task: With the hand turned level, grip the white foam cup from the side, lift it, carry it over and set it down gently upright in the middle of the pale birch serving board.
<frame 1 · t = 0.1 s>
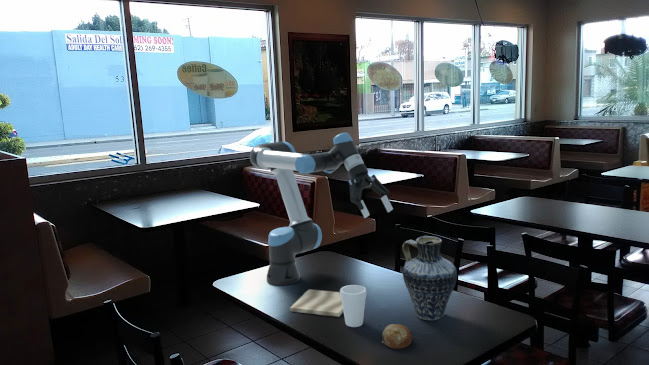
hand: (379, 213, 209), 36 cm above the table, tool tilted 35°, fingers open, 13 cm apart
foam cup: (354, 323, 194), on the table
serving board: (323, 304, 212), on the table
jug: (428, 316, 198), on the table
bread roll: (397, 342, 179), on the table
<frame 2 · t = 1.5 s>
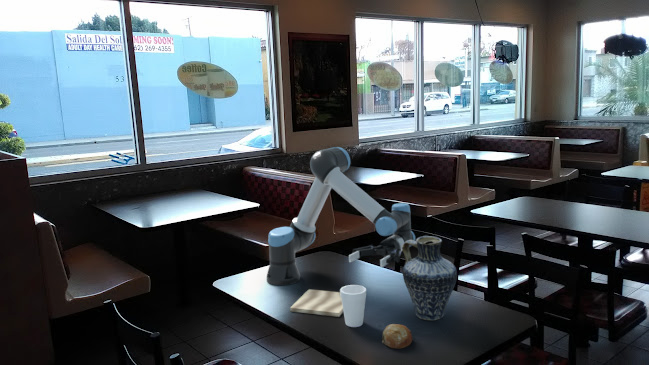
hand: (364, 261, 198), 21 cm above the table, tool horizontal, fingers open, 13 cm apart
nothing on the table moved.
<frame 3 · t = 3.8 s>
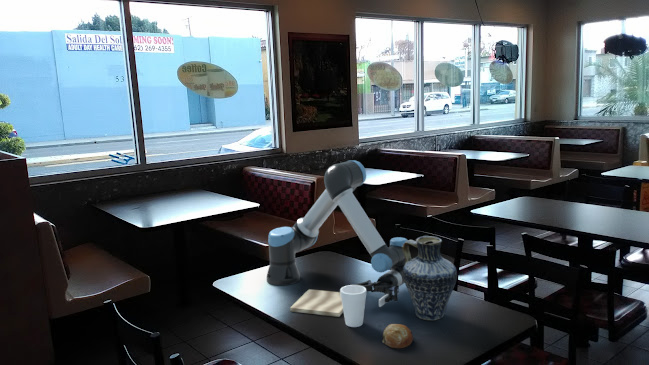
hand: (363, 299, 197), 7 cm above the table, tool horizontal, fingers open, 13 cm apart
nothing on the table moved.
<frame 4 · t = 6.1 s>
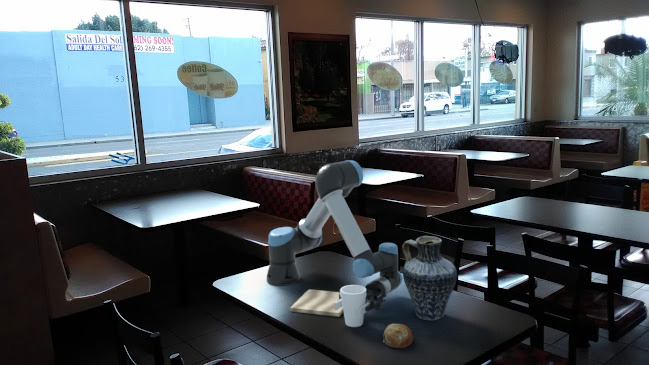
hand: (347, 309, 189), 7 cm above the table, tool horizontal, fingers closed on foam cup, 9 cm apart
foam cup: (354, 323, 194), on the table, touching gripper
everything else where it was.
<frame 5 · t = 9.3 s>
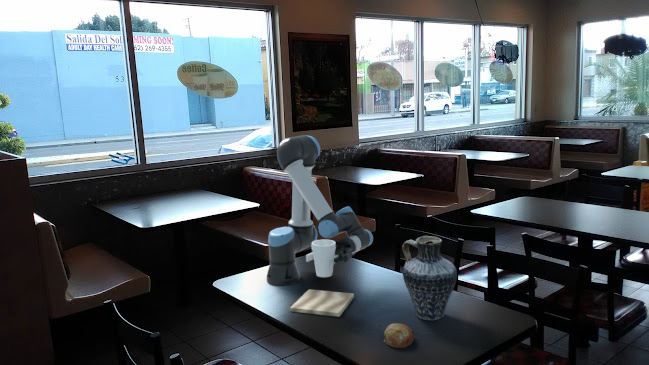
hand: (317, 260, 204), 20 cm above the table, tool horizontal, fingers closed on foam cup, 9 cm apart
foam cup: (324, 275, 209), point 13 cm above the table, touching gripper
everything else where it was.
when the fingers open (9 cm above the table, at t = 12.6 s): foam cup stays where it is, resting on serving board.
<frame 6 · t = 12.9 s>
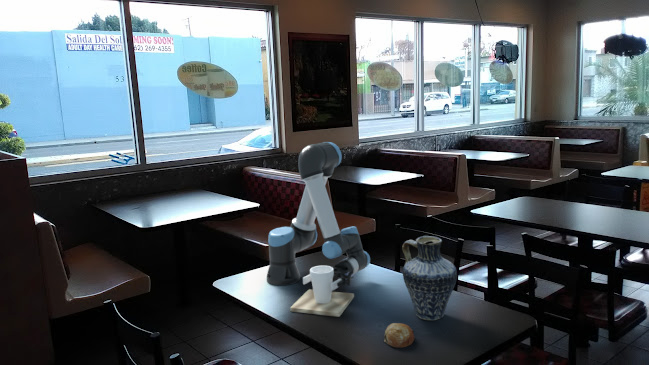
hand: (317, 284, 208), 9 cm above the table, tool horizontal, fingers open, 13 cm apart
foam cup: (322, 300, 212), point 1 cm above the table, touching serving board
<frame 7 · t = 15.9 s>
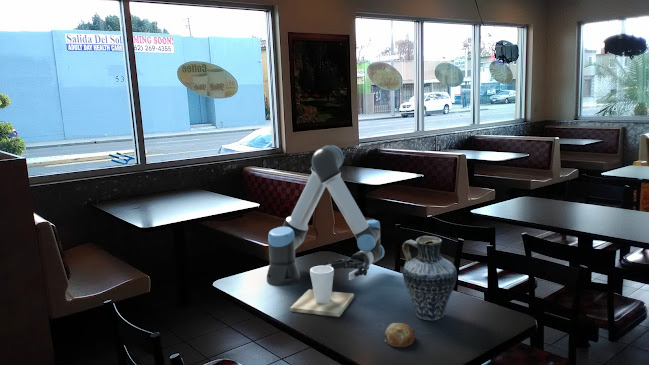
hand: (335, 274, 219), 10 cm above the table, tool horizontal, fingers open, 13 cm apart
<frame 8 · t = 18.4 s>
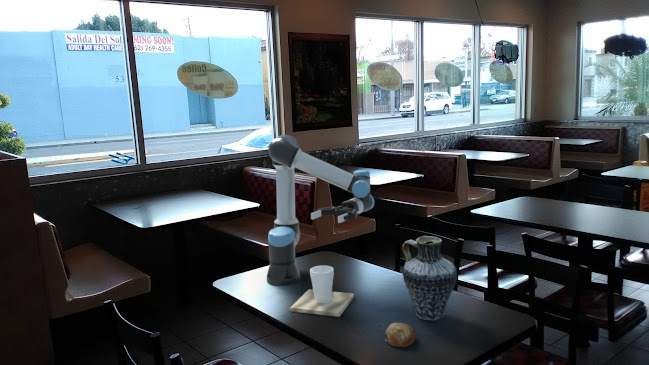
hand: (324, 218, 221), 32 cm above the table, tool horizontal, fingers open, 13 cm apart
at the end: foam cup inside the target area on the serving board (0.1 cm from its centre), point 1.3 cm above the serving board's base; foam cup tilted 0°; the gripper is holding nothing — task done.
